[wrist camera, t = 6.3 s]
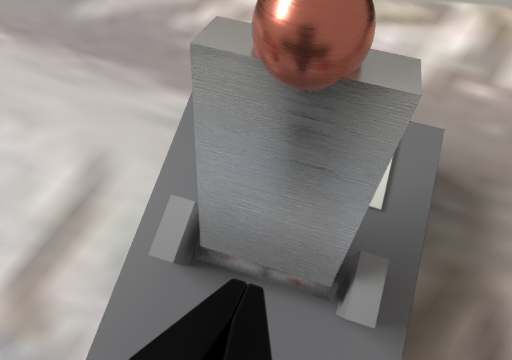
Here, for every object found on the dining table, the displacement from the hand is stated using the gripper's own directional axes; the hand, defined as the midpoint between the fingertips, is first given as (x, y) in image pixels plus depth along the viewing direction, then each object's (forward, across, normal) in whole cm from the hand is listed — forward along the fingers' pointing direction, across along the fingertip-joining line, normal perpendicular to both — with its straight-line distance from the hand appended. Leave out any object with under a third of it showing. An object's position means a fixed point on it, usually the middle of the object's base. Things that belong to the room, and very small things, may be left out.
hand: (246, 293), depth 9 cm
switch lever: (+5, 0, +3) cm, 5 cm away
